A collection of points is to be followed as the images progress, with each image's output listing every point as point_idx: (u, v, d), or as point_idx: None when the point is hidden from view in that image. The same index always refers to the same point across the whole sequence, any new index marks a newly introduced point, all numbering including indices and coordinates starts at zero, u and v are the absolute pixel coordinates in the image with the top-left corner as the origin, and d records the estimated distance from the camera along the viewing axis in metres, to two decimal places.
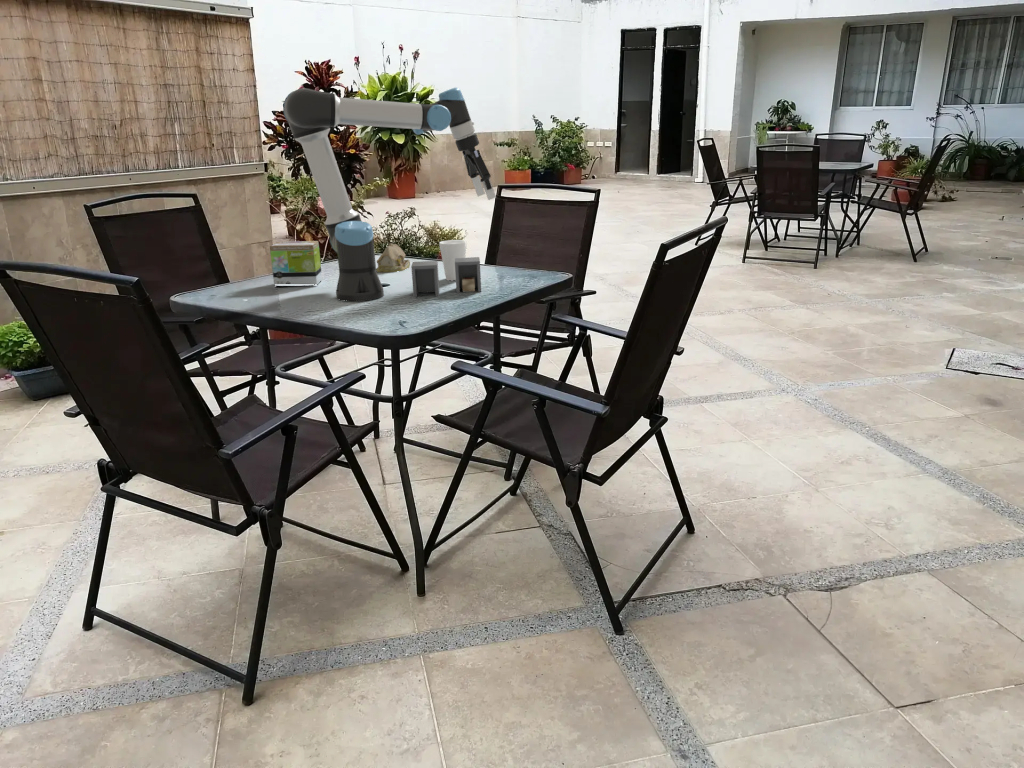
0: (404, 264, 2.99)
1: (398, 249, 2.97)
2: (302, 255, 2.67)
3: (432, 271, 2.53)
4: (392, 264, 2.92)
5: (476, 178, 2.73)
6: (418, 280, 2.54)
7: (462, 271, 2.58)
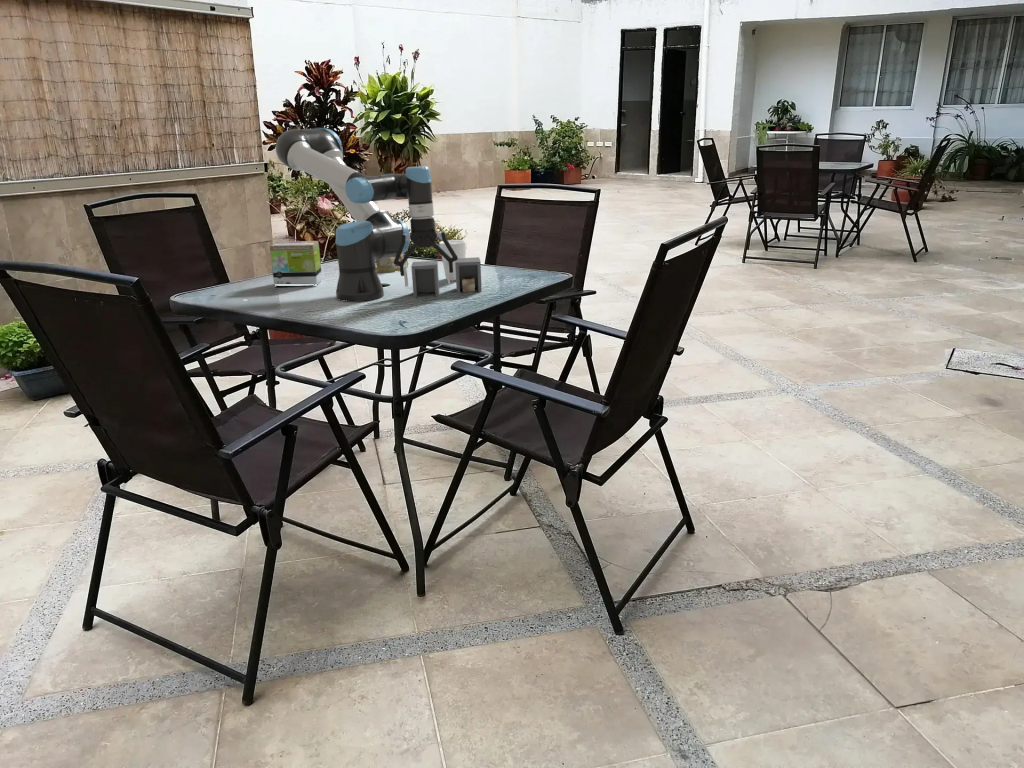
0: None
1: None
2: (302, 255, 2.67)
3: (432, 271, 2.53)
4: (391, 264, 2.92)
5: (446, 264, 2.49)
6: (418, 280, 2.54)
7: (462, 271, 2.57)
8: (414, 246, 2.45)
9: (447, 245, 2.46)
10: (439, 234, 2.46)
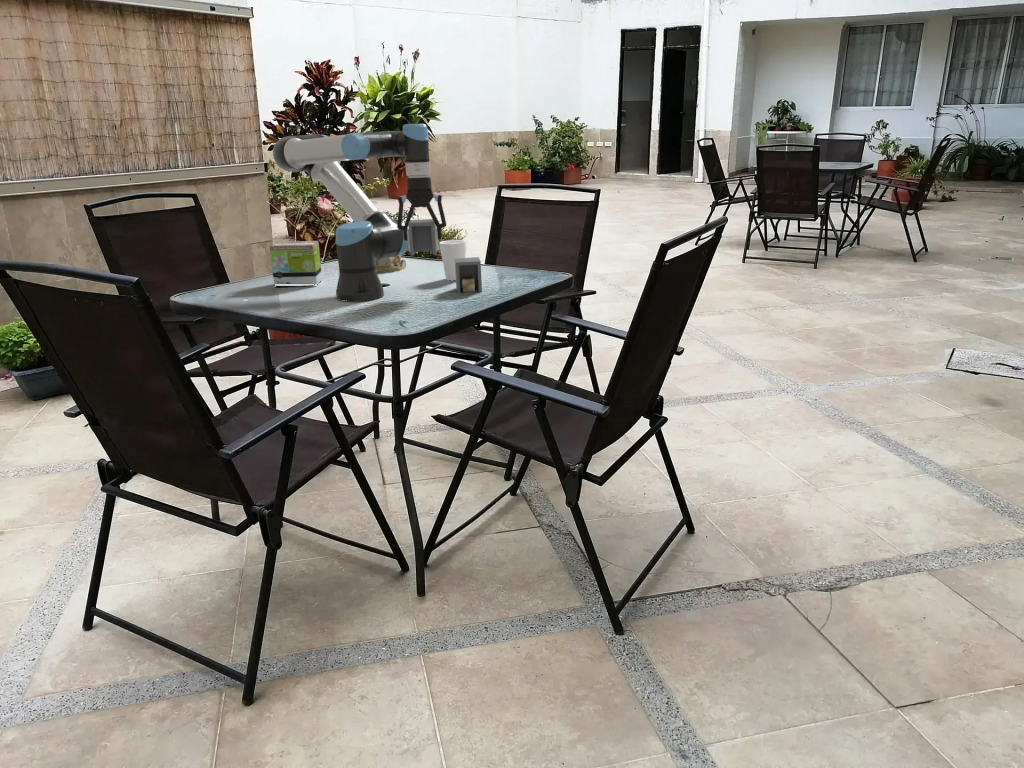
0: (400, 264, 2.99)
1: None
2: (302, 255, 2.67)
3: (429, 229, 2.49)
4: (390, 264, 2.92)
5: (435, 230, 2.46)
6: (415, 239, 2.50)
7: (462, 271, 2.57)
8: (412, 207, 2.42)
9: (440, 209, 2.43)
10: (436, 196, 2.43)
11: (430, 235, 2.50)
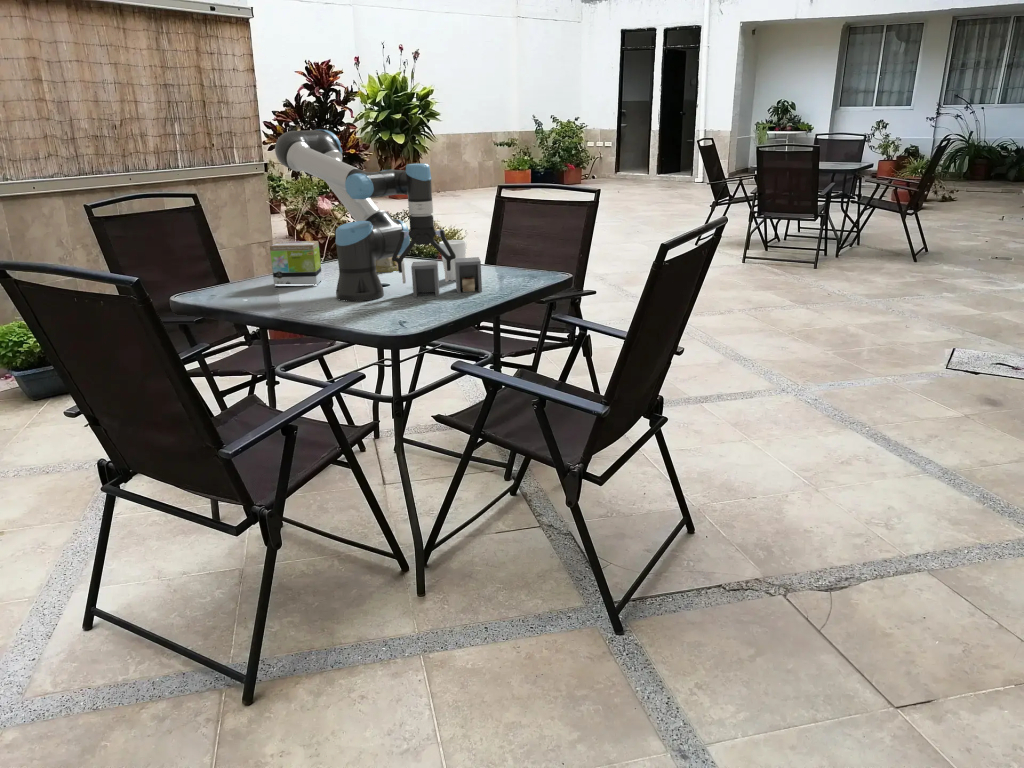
0: None
1: None
2: (302, 255, 2.67)
3: (432, 271, 2.53)
4: (389, 264, 2.92)
5: (444, 262, 2.50)
6: (418, 280, 2.54)
7: (462, 271, 2.57)
8: (412, 243, 2.45)
9: (445, 243, 2.47)
10: (438, 232, 2.46)
11: (433, 276, 2.54)
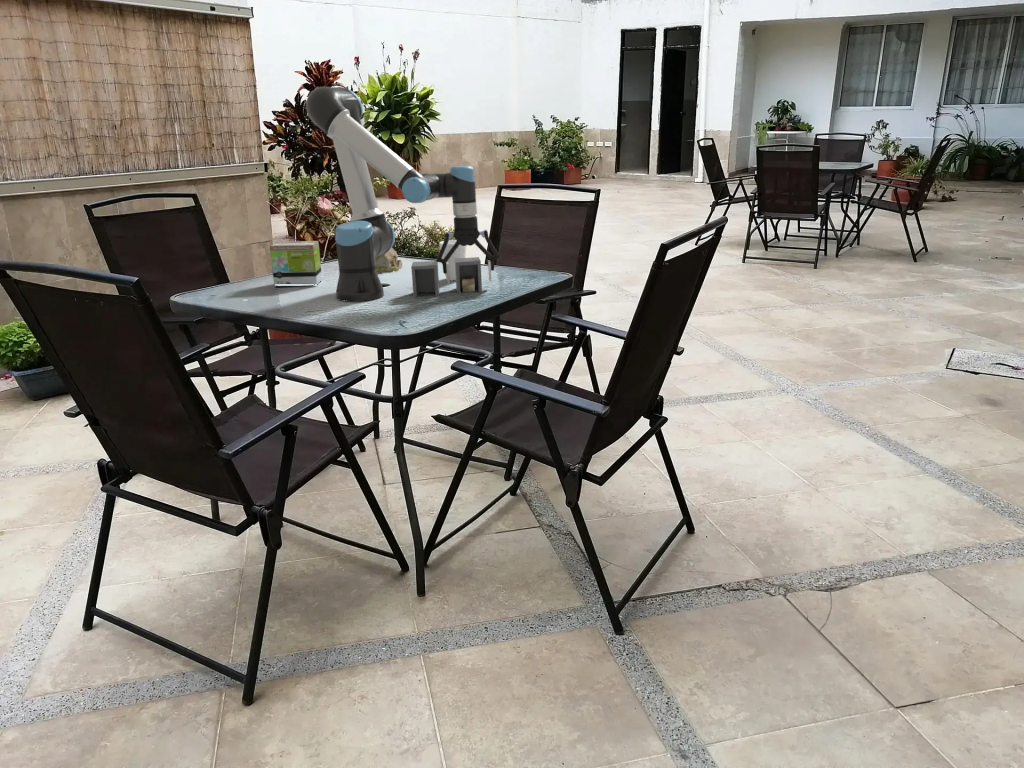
0: (397, 264, 2.99)
1: (391, 249, 2.97)
2: (302, 255, 2.67)
3: (432, 271, 2.53)
4: (387, 264, 2.92)
5: (488, 262, 2.54)
6: (418, 280, 2.54)
7: (462, 271, 2.57)
8: (457, 244, 2.50)
9: (489, 243, 2.51)
10: (482, 232, 2.51)
11: (433, 277, 2.54)
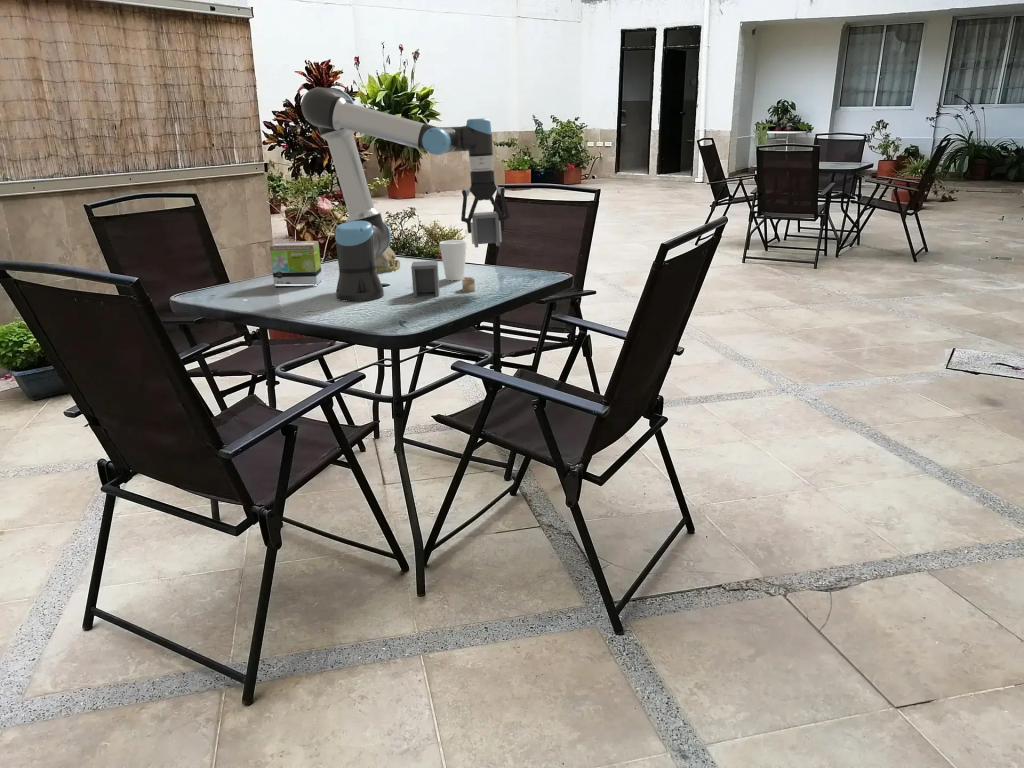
0: (395, 264, 2.99)
1: (389, 249, 2.97)
2: (302, 255, 2.67)
3: (432, 271, 2.53)
4: (386, 264, 2.92)
5: None
6: (418, 280, 2.54)
7: (479, 226, 2.54)
8: (476, 200, 2.47)
9: (503, 201, 2.48)
10: (499, 188, 2.48)
11: (433, 276, 2.54)
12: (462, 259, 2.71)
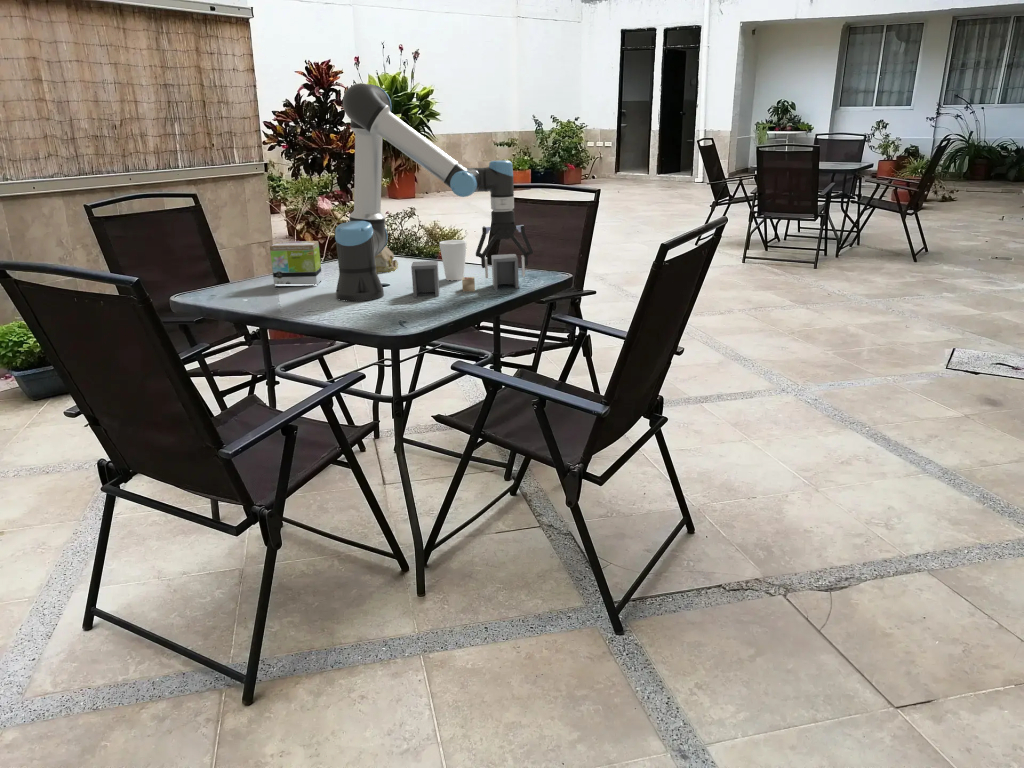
0: (393, 264, 2.99)
1: (387, 250, 2.97)
2: (302, 255, 2.67)
3: (432, 271, 2.53)
4: (385, 264, 2.92)
5: None
6: (418, 280, 2.54)
7: (498, 268, 2.61)
8: (495, 238, 2.54)
9: (525, 238, 2.55)
10: (518, 227, 2.54)
11: (433, 276, 2.54)
12: (462, 259, 2.71)
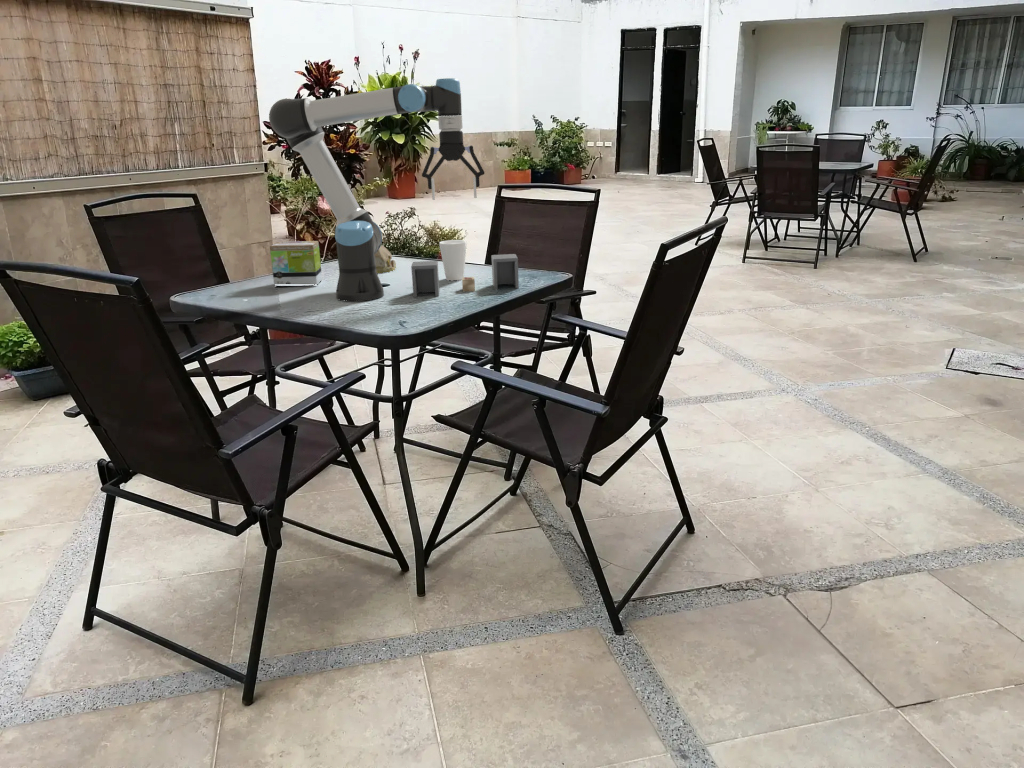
0: (391, 264, 2.99)
1: (385, 250, 2.97)
2: (302, 255, 2.67)
3: (432, 271, 2.53)
4: (384, 265, 2.92)
5: (473, 178, 2.54)
6: (418, 280, 2.54)
7: (498, 268, 2.61)
8: (442, 159, 2.50)
9: (475, 159, 2.51)
10: (467, 148, 2.50)
11: (433, 276, 2.54)
12: (462, 259, 2.71)
